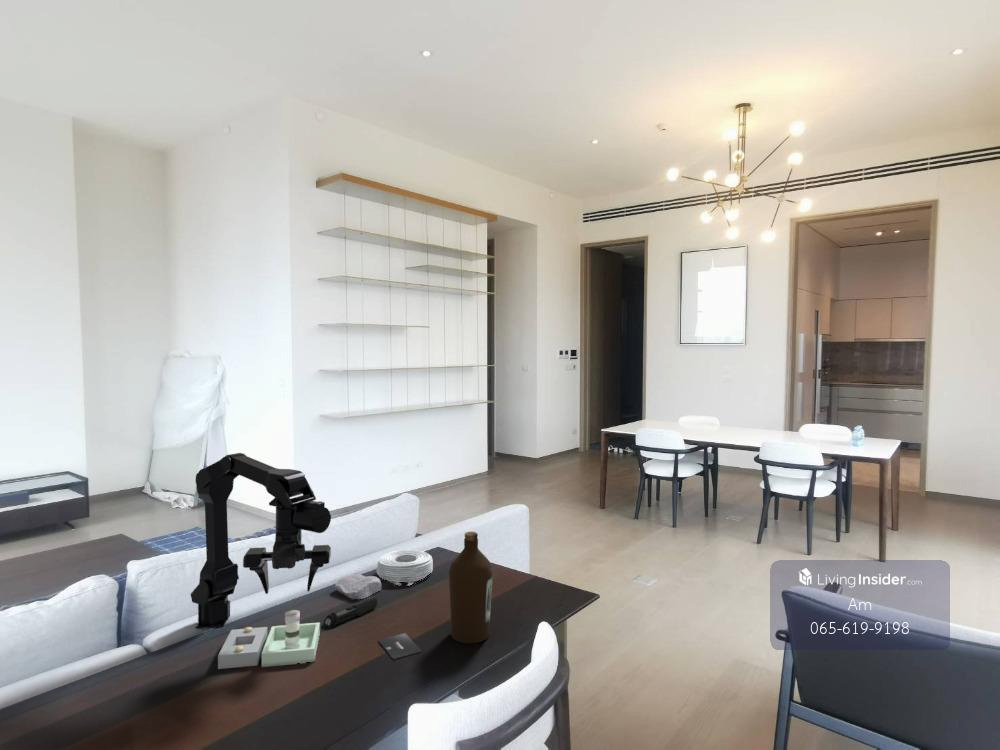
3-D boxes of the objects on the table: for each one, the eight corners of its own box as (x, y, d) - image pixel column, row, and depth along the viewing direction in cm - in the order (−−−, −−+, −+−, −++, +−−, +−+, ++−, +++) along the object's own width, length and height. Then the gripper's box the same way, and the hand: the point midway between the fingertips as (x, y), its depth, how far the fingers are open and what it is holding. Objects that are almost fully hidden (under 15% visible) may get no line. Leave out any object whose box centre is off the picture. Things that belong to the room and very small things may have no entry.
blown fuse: (283, 651, 132) (284, 616, 131) (286, 644, 135) (286, 610, 135) (298, 650, 132) (298, 615, 132) (300, 643, 135) (300, 609, 135)
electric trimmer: (380, 610, 156) (380, 598, 156) (330, 630, 144) (330, 617, 144) (371, 606, 158) (372, 595, 158) (322, 625, 146) (322, 613, 146)
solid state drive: (393, 661, 130) (393, 658, 130) (377, 642, 138) (377, 639, 138) (422, 653, 133) (422, 650, 133) (405, 635, 142) (405, 632, 142)
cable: (405, 591, 169) (405, 570, 169) (363, 577, 179) (363, 558, 178) (444, 572, 183) (444, 553, 183) (403, 561, 193) (403, 543, 193)
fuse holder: (218, 669, 125) (218, 652, 125) (231, 642, 137) (231, 627, 137) (257, 665, 127) (257, 649, 127) (267, 639, 139) (267, 624, 138)
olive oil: (447, 645, 136) (448, 540, 136) (449, 624, 147) (450, 527, 146) (492, 645, 137) (493, 540, 136) (491, 624, 147) (492, 527, 147)
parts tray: (261, 667, 126) (261, 653, 126) (271, 638, 139) (271, 626, 139) (314, 662, 128) (314, 648, 128) (319, 634, 141) (319, 622, 141)
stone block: (360, 608, 160) (385, 589, 169) (357, 593, 159) (382, 574, 168) (330, 600, 167) (355, 582, 175) (327, 585, 166) (352, 568, 174)
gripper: (237, 538, 125) (236, 609, 126) (327, 535, 129) (326, 604, 130) (248, 523, 136) (248, 589, 137) (331, 520, 140) (330, 584, 140)
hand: (287, 592), depth 136 cm, fingers open, 9 cm apart
